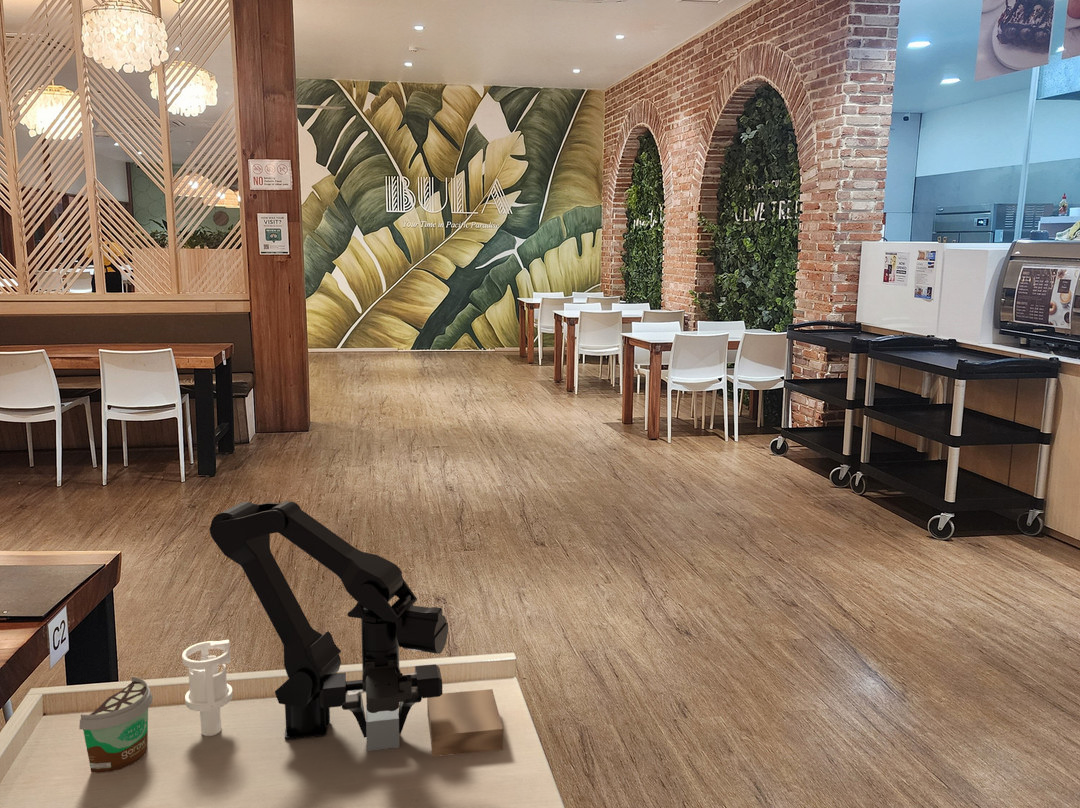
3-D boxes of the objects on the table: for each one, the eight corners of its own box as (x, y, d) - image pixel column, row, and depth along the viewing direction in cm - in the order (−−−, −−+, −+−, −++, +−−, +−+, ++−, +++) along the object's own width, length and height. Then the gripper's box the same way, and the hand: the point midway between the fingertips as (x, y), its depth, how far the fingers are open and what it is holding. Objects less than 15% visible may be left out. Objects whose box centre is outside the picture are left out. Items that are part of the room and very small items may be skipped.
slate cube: (366, 751, 133) (366, 722, 132) (366, 733, 138) (365, 704, 137) (399, 747, 134) (398, 718, 133) (397, 729, 139) (397, 701, 138)
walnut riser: (432, 759, 132) (432, 735, 131) (427, 716, 143) (427, 694, 143) (502, 751, 134) (502, 728, 133) (492, 710, 145) (492, 689, 145)
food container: (121, 784, 124) (115, 721, 122) (84, 778, 125) (77, 716, 123) (173, 736, 136) (168, 679, 134) (138, 731, 137) (134, 674, 135)
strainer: (237, 736, 136) (231, 649, 133) (189, 747, 133) (183, 658, 130) (231, 714, 142) (226, 631, 139) (186, 724, 139) (180, 639, 136)
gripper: (316, 674, 123) (320, 771, 126) (445, 663, 127) (446, 757, 130) (319, 639, 134) (322, 729, 137) (438, 629, 138) (439, 717, 141)
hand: (382, 734), depth 136 cm, fingers closed on slate cube, 5 cm apart
